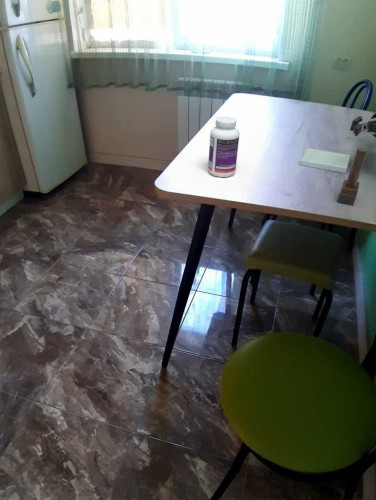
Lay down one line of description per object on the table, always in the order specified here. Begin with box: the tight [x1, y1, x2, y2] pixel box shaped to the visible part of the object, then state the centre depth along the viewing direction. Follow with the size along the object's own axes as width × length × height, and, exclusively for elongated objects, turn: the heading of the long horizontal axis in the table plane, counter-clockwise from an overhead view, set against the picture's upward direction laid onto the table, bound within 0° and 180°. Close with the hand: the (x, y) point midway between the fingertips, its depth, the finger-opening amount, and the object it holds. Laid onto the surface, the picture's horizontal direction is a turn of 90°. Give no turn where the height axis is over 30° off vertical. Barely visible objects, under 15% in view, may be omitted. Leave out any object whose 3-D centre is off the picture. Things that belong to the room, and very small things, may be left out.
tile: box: [299, 147, 351, 174], centre depth 129 cm, size 14×12×2 cm
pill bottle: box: [207, 116, 240, 178], centre depth 115 cm, size 8×8×14 cm
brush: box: [337, 147, 369, 206], centre depth 106 cm, size 6×4×13 cm, turn 159°
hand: (373, 135), depth 108 cm, fingers open, 8 cm apart
